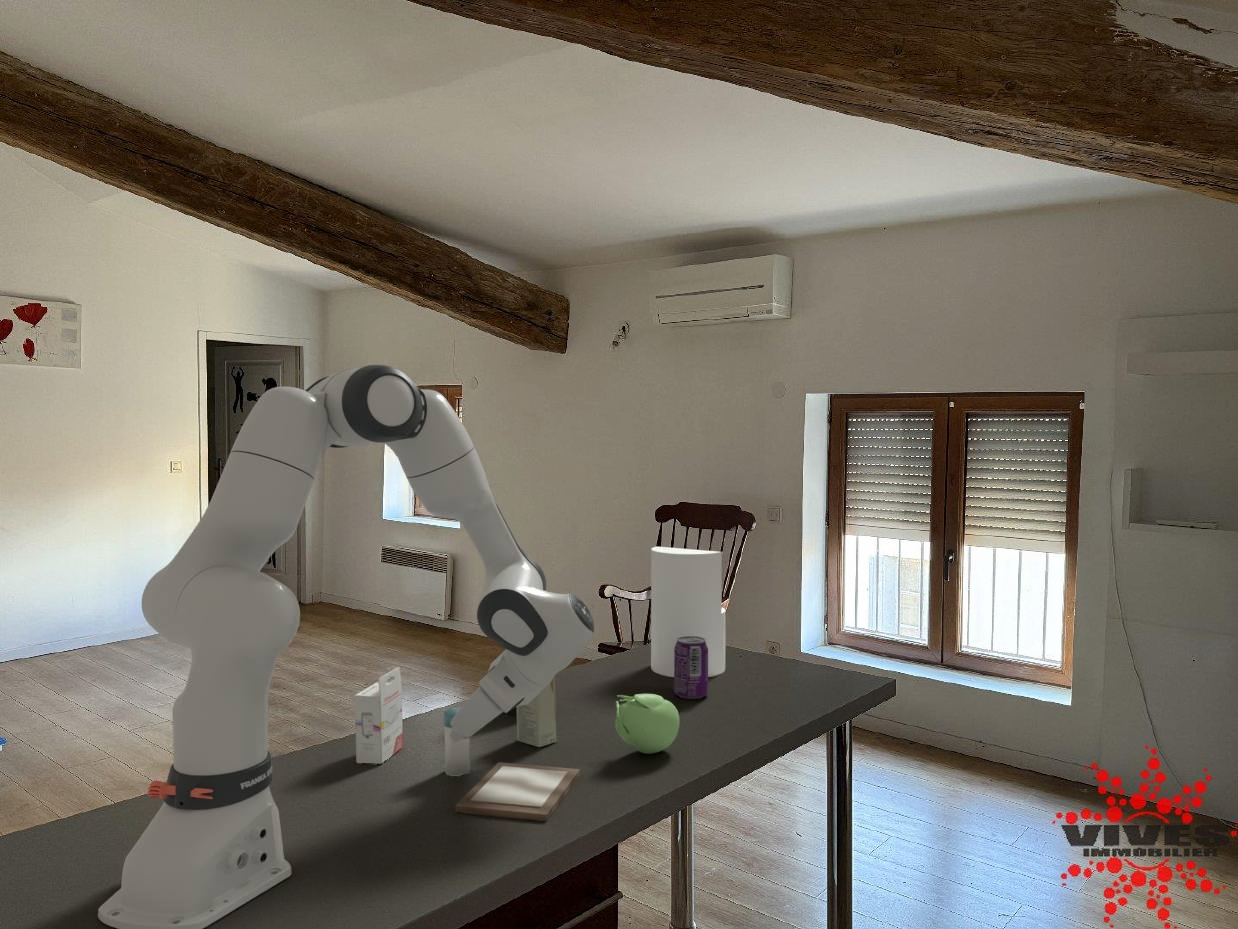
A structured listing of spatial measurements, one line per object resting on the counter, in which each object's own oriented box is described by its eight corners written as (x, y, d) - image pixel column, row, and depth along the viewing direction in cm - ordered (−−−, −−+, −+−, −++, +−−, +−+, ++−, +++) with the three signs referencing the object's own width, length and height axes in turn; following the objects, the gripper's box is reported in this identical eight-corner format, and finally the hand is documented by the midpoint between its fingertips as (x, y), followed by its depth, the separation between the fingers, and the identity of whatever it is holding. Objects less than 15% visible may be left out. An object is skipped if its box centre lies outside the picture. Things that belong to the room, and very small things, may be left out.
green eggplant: (631, 738, 169) (631, 678, 168) (687, 749, 163) (687, 687, 163) (597, 759, 158) (597, 695, 158) (655, 771, 153) (655, 705, 152)
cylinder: (703, 682, 205) (703, 556, 204) (637, 671, 215) (637, 550, 214) (737, 665, 220) (738, 547, 219) (674, 655, 229) (674, 542, 228)
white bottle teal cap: (464, 777, 150) (463, 716, 149) (440, 775, 151) (439, 714, 150) (474, 768, 154) (473, 708, 153) (450, 766, 155) (450, 707, 154)
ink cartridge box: (377, 746, 164) (376, 664, 164) (403, 748, 163) (402, 665, 163) (354, 763, 156) (353, 677, 155) (381, 766, 155) (380, 678, 154)
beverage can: (713, 694, 196) (714, 638, 196) (698, 703, 190) (698, 644, 190) (684, 689, 200) (684, 634, 199) (668, 697, 194) (668, 640, 193)
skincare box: (557, 742, 166) (557, 675, 166) (539, 748, 163) (538, 679, 163) (533, 734, 171) (533, 668, 170) (515, 740, 168) (514, 673, 167)
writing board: (546, 821, 133) (546, 813, 133) (455, 812, 136) (455, 804, 136) (579, 775, 151) (579, 768, 151) (498, 768, 154) (498, 761, 154)
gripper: (524, 647, 160) (471, 699, 162) (480, 678, 140) (420, 738, 142) (549, 674, 159) (495, 727, 162) (508, 710, 139) (448, 769, 142)
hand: (460, 732), depth 152 cm, fingers closed on white bottle teal cap, 4 cm apart
